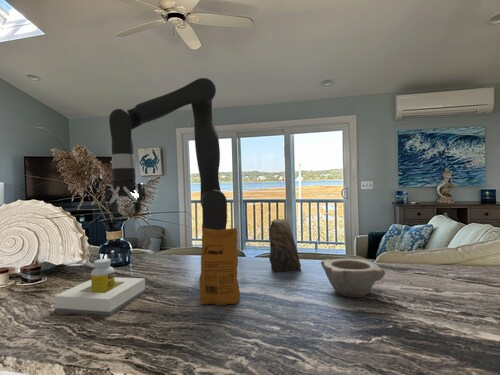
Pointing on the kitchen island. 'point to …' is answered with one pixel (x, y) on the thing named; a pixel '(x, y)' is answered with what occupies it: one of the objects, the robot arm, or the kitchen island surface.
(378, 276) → the mortar
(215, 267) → the coffee package
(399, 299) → the kitchen island surface
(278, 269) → the brown rock
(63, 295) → the socket block
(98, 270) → the pill bottle
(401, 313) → the kitchen island surface
